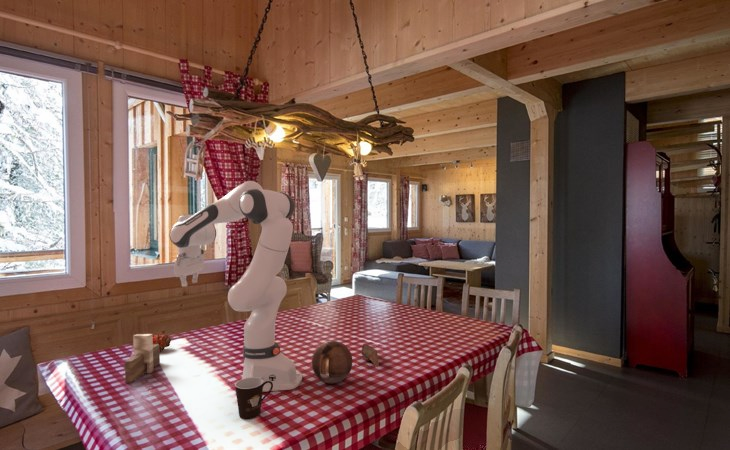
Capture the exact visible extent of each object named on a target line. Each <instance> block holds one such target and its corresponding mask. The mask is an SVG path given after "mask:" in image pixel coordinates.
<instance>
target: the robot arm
mask: <svg viewBox="0 0 730 450" xmlns="http://www.w3.org/2000/svg"><path fill="white" fill-rule="evenodd" d="M295 207H296V206H295V201H294V199H293V197H292V196H291V195H289V194H287V193H285V192H282V191H280V192H279V191H274V190H270V189H263V186H261V185H260V184H259V182H256V181H253V180H247V181H244V182H243V183H240V184H239V185H238V186H235V187H234V188H233V189H232V190H231V191H229V192H228V193H227V194H226V195H224V196H223V197H221V198H220V199H218V200H217V201H214V202H212V203H211V204H209V205H207V206H206V207H203V208H202V209H200V210H199V211H197V212H196V213H188V214H187V213H186V214H182V215H179V217H178V219H177V222H176V223H174V224H173V225H172V227H171V228H170V230H169V239H170V241H171V242H172V244H173V245H174V246H176V247H177V257H176V258H175V261H174V265H173V275H174V277H176V278H179V279H180V282H181V287H183V288H184V287H185V288H186V287H188V281H187V276H189V275H192V278H191V283H192V284H196V283H198V279H199V278H198V277H199V272H202V271H203V270H204V265H205V263H204V262H205V258H204V255H205V249H204V248H202V247H201V246H206V245H207V246H208V245H210V244H211V245H212V244H213V243H214V241H215V240H216V239H217V229H216V227H215V225H216V224H223V223H235V222H237V221H240V220H242V219H245V218H247V219H248V220H250V221H251V223H253V224H255V225H259V224H260V226H261V232H260V236H259V239H258V242H257V245H256V249H255V251H254V254H253V257H252V259H251V262H250V264H249V265H248V266H247V268H246V270H245V271H244V273H243V274H242V276H241V277H240V279H239V280H237V282H235V284H233V285H232V286H231V287H230V288H229V290H228V291H227V292H228V293H227V301H228V305H229V306H230V307H231V309H232V310H234V311H235V312H250V316H249V317H248V318H247V319H246V321H245V323H244V325H243V340H244V341H243V345H242V357H243V358H242V359H243V368H242V369H243V371H242V376H241V379H244V378H249V377H257V378H261V379H263V383H264V382H266V381H271V382H272V383H273V388H272V390H271V392H278V391H285V390H286V391H289V390H294V389H296V388H297V387H299V386H300V385H301V383H302V381H303V374H302V373H301V371H297V369H296V368H297V367H296V364H295V362H294V361H293V360H292V359H290V358H289V357H288V356H286V355H284V353H282V352H281V347H282V346H281V345H282V344H281V343H279V344H278V343H277V342H276V341H275V340H276V339H275V338H276V337H275V336H276V334H275V333H276V329H275V328H276V319H277V314H278V310H279V308H280V306H281V303H282V301H283V299H284V298H285V297H286V294H287V289H288V287H287V283H286V281H285V280H284V278H282V277H281V276H277V275H278V274H279V273H281V271H282V270H283V267H284V265H285V261H286V258H287V256H288V255H287V254H288V251H289V248H290V245H291V241H292V236H293V223H292V221H291V220H290V219H289V218H291V217H292V215H293V214H294V211H295V209H296V208H295ZM214 224H215V225H214ZM270 388H271V384H270V383H266V384H265V385H264V386H263V392H262V393H264V392H269V390H270Z"/></svg>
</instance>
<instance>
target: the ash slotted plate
mask: <svg viewBox="0 0 730 450" xmlns="http://www.w3.org/2000/svg"><path fill="white" fill-rule="evenodd" d="M132 340H133V356H135V355H136V354H143V363H147V372H146V374H151V373H153V372H154V367H153V333H137V334H133V337H132Z"/></svg>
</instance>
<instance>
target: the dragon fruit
mask: <svg viewBox="0 0 730 450" xmlns="http://www.w3.org/2000/svg"><path fill="white" fill-rule="evenodd" d="M152 336H153V344H159V352H160V351H161V350H162V351H165V348H168V347H170V345H171V342H172V339H171V337H169V336H168V335H167V334H163V333H161V332H160V333H159V334H152Z"/></svg>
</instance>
